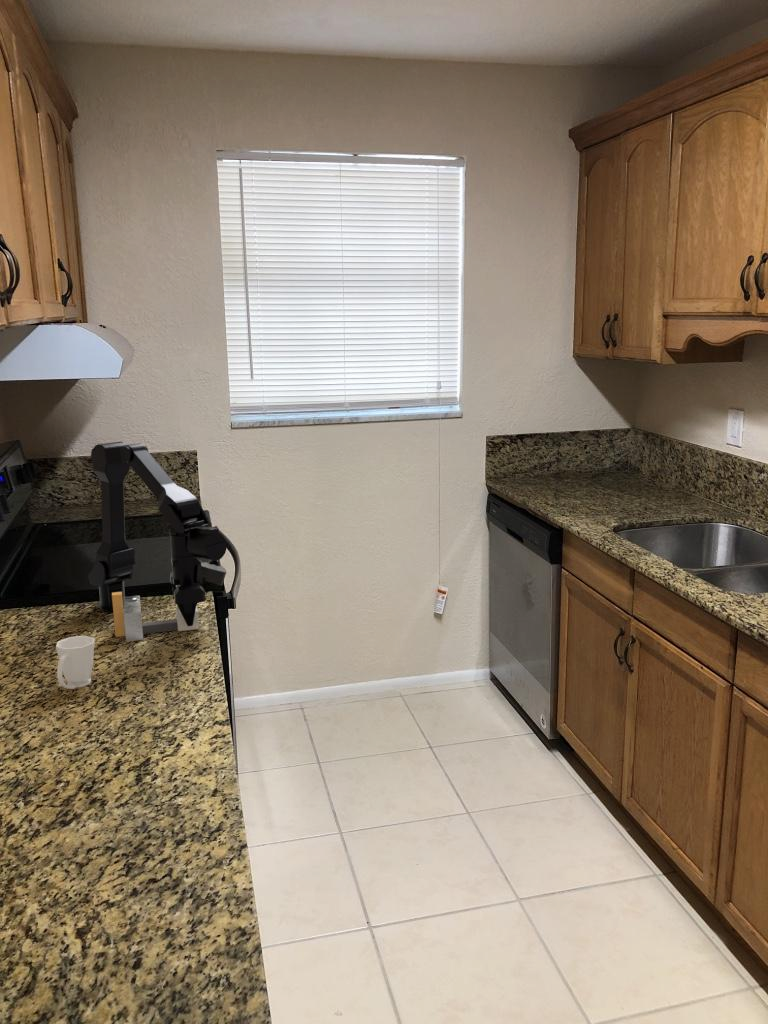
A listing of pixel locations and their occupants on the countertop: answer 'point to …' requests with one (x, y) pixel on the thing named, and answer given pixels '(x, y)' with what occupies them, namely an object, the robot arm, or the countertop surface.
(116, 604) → the multicoloured u-shaped piece
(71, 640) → the cup
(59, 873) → the countertop surface
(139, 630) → the housing
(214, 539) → the robot arm
